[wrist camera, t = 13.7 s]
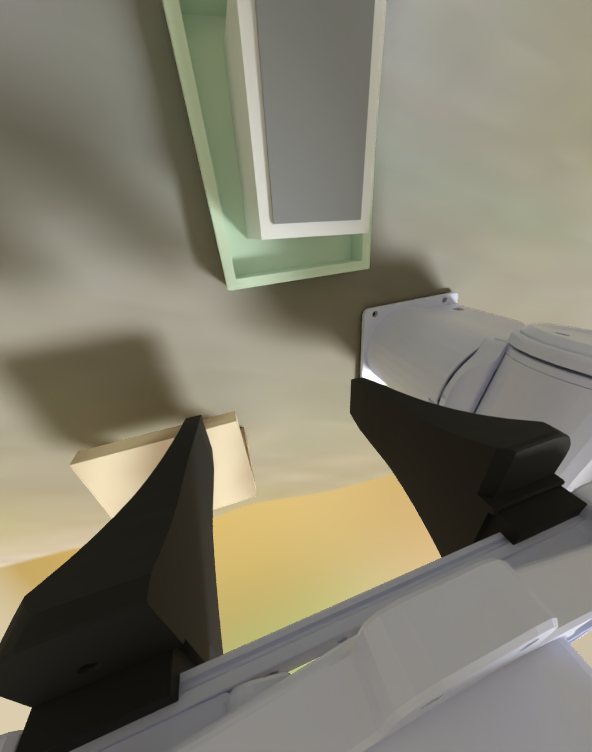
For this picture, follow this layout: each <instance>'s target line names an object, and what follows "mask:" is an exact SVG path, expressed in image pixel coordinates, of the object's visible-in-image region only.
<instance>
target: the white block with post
mask: <svg viewBox="0 0 592 752" xmlns="http://www.w3.org/2000/svg"><path fill="white" fill-rule="evenodd" d="M386 3H387V0H227V9H226V21H225V33H224V45H223V51H224V58H225V66H226V74H227V82H228V90H229V98H230V105H231V113H232V121H233V129H234V137H235V145H236V152H237V160H238V168H239V176H240V184H241V192H242V200H243V207H244V215H245V223H246V231H247V239H257V240H266V239H282V238H298V237H313V236H329V235H345V234H360V233H368V231H369V219H370V206H371V193H372V181H373V168H374V155H375V143H376V130H377V117H378V105H379V92H380V79H381V67H382V54H383V41H384V29H385V16H386Z"/></svg>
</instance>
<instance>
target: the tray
mask: <svg viewBox="0 0 592 752" xmlns="http://www.w3.org/2000/svg"><path fill="white" fill-rule="evenodd" d="M162 3H163V8H164V12H165V17H166V21H167V25H168V30H169V34H170V39H171V43H172V48H173V52H174V56H175V61H176V65H177V70H178V74H179V79H180V83H181V87H182V92H183V96H184V101H185V105H186V109H187V114H188V118H189V123H190V127H191V132H192V136H193V140H194V145H195V149H196V154H197V158H198V163H199V167H200V171H201V176H202V180H203V185H204V189H205V194H206V198H207V202H208V207H209V211H210V216H211V220H212V224H213V229H214V233H215V238H216V242H217V247H218V251H219V255H220V260H221V264H222V269H223V273H224V278H225V282H226V286H227V289H228V291H231V290H237V289H244V288H250V287H256V286H263V285H269V284H275V283H282V282H288V281H294V280H301V279H307V278H313V277H320V276H326V275H332V274H339V273H345V272H351V271H358V270H364V269H369V267H370V246H371V224H372V203H373V181H374V168H373V181H372V193H371V206H370V219H369V231H368V233H360V234H345V235H329V236H313V237H298V238H282V239H266V240H257V239H247V231H246V223H245V215H244V207H243V200H242V192H241V184H240V176H239V168H238V160H237V152H236V145H235V137H234V129H233V121H232V113H231V105H230V98H229V90H228V82H227V74H226V66H225V58H224V51H223V45H224V33H225V21H226V9H227V0H162ZM374 160H375V155H374Z"/></svg>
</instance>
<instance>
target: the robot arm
mask: <svg viewBox="0 0 592 752" xmlns="http://www.w3.org/2000/svg"><path fill="white" fill-rule="evenodd" d="M443 298H444V299H443ZM442 300H443V301H442ZM457 300H458V294H457V293H455V292H449V293H444V294H439V295H434V296H429V297H424V298H418V299H413V300H408V301H403V302H398V303H393V304H388V305H382V306H377V307H372V308H367V309H365V310H364V312H363V314H362V338H361V365H360V378H356V379H352V380H351V398H350V413H351V415H352V417H353V419H354V421H355V422H356V424H357V426H358V427H359V429H360V430H361V431H362V433H363V434H364V435H365V437H366V438H367V439H368V440H369V442H370V443H371V444H372V445H373V447H374V448H375V449H376V450H377V452H378V453H379V454H380V455H381V457H382V458H383V459H384V460H385V462H386V463H387V464H388V466H389V467H390V469H391V470H392V471H393V473H394V474H395V476H396V478H397V479H398V481H399V482H400V484H401V485H402V487H403V488H404V490H405V492H406V493H407V495H408V497H409V498H410V500H411V502H412V503H413V505H414V506H415V509H416V510H417V512H418V514H419V516H420V517H421V519H422V521H423V523H424V525H425V526H426V528H427V530H428V532H429V534H430V536H431V538H432V539H433V541H434V543H435V545H436V547H437V549H438V551H439V553H440V555H441V557H442V558H440V559H438V560H436V561H433V562H431V563H429V564H427V565H425V566H422V567H420V568H417V569H415V570H413V571H411V572H409V573H406V574H404V575H402V576H399V577H397V578H395V579H393V580H391V581H388V582H386V583H384V584H381V585H379V586H377V587H375V588H372V589H370V590H368V591H365V592H363V593H361V594H359V595H356V596H354V597H352V598H350V599H348V600H345V601H343V602H341V603H338V604H336V605H334V606H332V607H329V608H327V609H325V610H323V611H320V612H318V613H316V614H313V615H311V616H309V617H307V618H305V619H302V620H300V621H298V622H295V623H293V624H291V625H289V626H286V627H284V628H282V629H280V630H277V631H275V632H273V633H271V634H268V635H266V636H264V637H262V638H259V639H257V640H255V641H253V642H250V643H249V644H246V645H243V646H241V647H239V648H237V649H234V650H232V651H230V652H228V653H225V654H223V649H222V639H221V629H220V620H219V609H218V598H217V586H216V573H215V559H214V544H213V525H212V524H213V494H214V461H213V450H212V446H211V443H210V440H209V437H208V434H207V431H206V428H205V425H204V422H203V419H202V416H201V415H199V416H194V417H190V418H186V420H185V421H184V423H183V424H182V426H181V428H180V430H179V431H178V433H177V435H176V437H175V438H174V440H173V442H172V443H171V445H170V447H169V448H168V450H167V451H166V453H165V454H164V456H163V458H162V459H161V460H160V462H159V463H158V465H157V466H156V468H155V469H154V470H153V472H152V473H151V475H150V476H149V477H148V479H147V480H146V481H145V482H144V484H143V485H142V486H141V487H140V489H139V490H138V491H137V492H136V493H135V495H134V496H133V497H132V498H131V499H130V500H129V501H128V502H127V503H126V505H125V506H124V507H123V508H122V509H121V510H120V511H119V512H118V513H117V514H116V515H115V516H114V517H113V518H112V519H111V520H110V521H109V522H108V523H107V524H106V525H105V526H104V527H103V528H102V529H101V530H100V531H99V532H98V533H97V534H96V535H95V536H94V537H93V538H92V539H91V540H90V541H89V542H88V543H87V544H85V545H84V546H83V547H82V548H81V549H80V550H79V551H78V552H77V553H76V554H74V555H73V556H72V557H71V558H70V559H69V560H68V561H66V562H65V563H64V564H63V565H62V566H61V567H59V568H58V569H57V570H56V571H55V572H53V573H52V574H51V575H50V576H49V577H47V578H46V579H45V580H44V581H43V582H42V583H40V584H39V585H38V586H37V587H35V588H34V589H33V590H32V591H31V592H29V593H28V594H27V595H26V596H25V597H24V599H23V600H22V602H21V604H20V606H19V608H18V609H17V611H16V613H15V615H14V617H13V619H12V621H11V623H10V625H9V627H8V629H7V631H6V633H5V635H4V636H3V638H2V641H1V643H0V697H3V698H6V699H9V700H12V701H15V702H18V703H20V704H23V705H26V706H29V707H32V709H31V712H30V714H29V717H28V720H27V722H26V725H25V728H24V730H18V731H13V732H8V733H6V734H3V735H0V752H592V668H591V667H590V666H589V665H588V664H587V663H586V662H585V661H584V659H583V658H582V657H581V656H580V655H579V654H578V653H577V651H576V650H575V649H574V648H573V647H572V646H571V645H570V644H571V643H573V642H574V641H576V640H577V639H579V638H580V637H582V636H584V635H585V634H587V633H588V632H590V631H592V330H587V329H582V328H576V327H570V326H564V325H556V324H547V323H532V324H529V325H525V324H524V323H522V322H520V321H517V320H514V319H510V318H506V317H503V316H499V315H495V314H492V313H488V312H484V311H480V310H477V309H473V308H469V307H466V306H462V305H458V304H457ZM374 311H375V315H374V316H372V314H373V312H374ZM386 384H387V385H388V386H389V387H391V388H389V387H387V386H384V385H386ZM318 657H319V658H318ZM316 658H317V659H316ZM314 659H315V660H314ZM311 660H314V661H312V662H311V663H309V664H307V665H306V666H304V667H303V668H301V669H299V670H297V671H296V672H294V673H293V674H290V673H288V672H289V671H291V670H293V669H295V668H297V667H299V666H301V665H303V664H305V663H307V662H309V661H311Z"/></svg>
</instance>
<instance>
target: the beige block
mask: <svg viewBox="0 0 592 752" xmlns="http://www.w3.org/2000/svg"><path fill="white" fill-rule="evenodd" d="M203 422H204V425H205V428H206V431H207V434H208V437H209V440H210V443H211V446H212V450H213V461H214V494H213V510H215V509H218V508H221V507H224V506H227V505H230V504H233V503H236V502H239V501H242V500H245V499H248V498H251V497H254V496H257V491H256V486H255V481H254V475H253V470H252V462H251V457H250V452H249V447H248V442H247V439H246V434H245V431H244V428H240V427H239V424H238V420H237V416H236V413H235V411H234V412H230V413H226V414H222V415H219V416H215V417H211V418H207V419H203ZM181 426H182V425H180V426H176V427H172V428H168V429H164V430H160V431H156V432H152V433H148V434H144V435H141V436H137V437H133V438H129V439H125V440H121V441H117V442H113V443H109V444H105V445H102V446H98V447H94V448H90V449H86V450H82V451H78V452H77V454H76V455H75V457H74V459H73V460H72V462H71V464H70V465H69V466H70V467H71V468H72V469H73V471H74V472H75V473H76V474H77V476H78V477H79V478H80V479H81V480H82V482H83V483H84V484H85V485H86V487H87V488H88V489H89V490H90V492H91V493H92V494H93V495H94V497H95V498H96V499H97V500H98V502H99V503H100V504H101V505H102V507H103V508H104V509H105V510H106V512H107V513H108V514H109V515H110V517H111V518H113V517H114V516H115V515H116V514H117V513H118V512H119V511H120V510H121V509H122V508H123V507H124V506H125V505H126V503H127V502H128V501H129V500H130V499H131V498H132V497H133V496H134V495H135V493H136V492H137V491H138V490H139V489H140V487H141V486H142V485H143V484H144V482H145V481H146V480H147V479H148V477H149V476H150V475H151V473H152V472H153V470H154V469H155V468H156V466H157V465H158V463H159V462H160V460H161V459H162V458H163V456H164V454H165V453H166V451H167V450H168V448H169V447H170V445H171V443H172V442H173V440H174V438H175V437H176V435H177V433H178V431H179V430H180V428H181Z"/></svg>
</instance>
